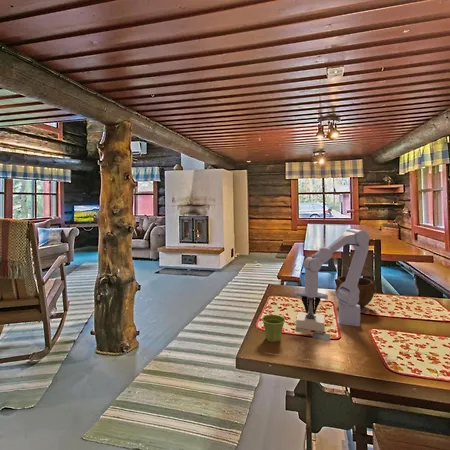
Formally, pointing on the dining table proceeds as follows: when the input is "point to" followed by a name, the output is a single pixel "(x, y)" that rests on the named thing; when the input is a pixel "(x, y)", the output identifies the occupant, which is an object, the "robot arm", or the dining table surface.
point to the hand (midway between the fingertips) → (310, 312)
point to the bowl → (361, 289)
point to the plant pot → (273, 327)
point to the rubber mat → (321, 336)
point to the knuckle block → (310, 322)
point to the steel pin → (310, 308)
